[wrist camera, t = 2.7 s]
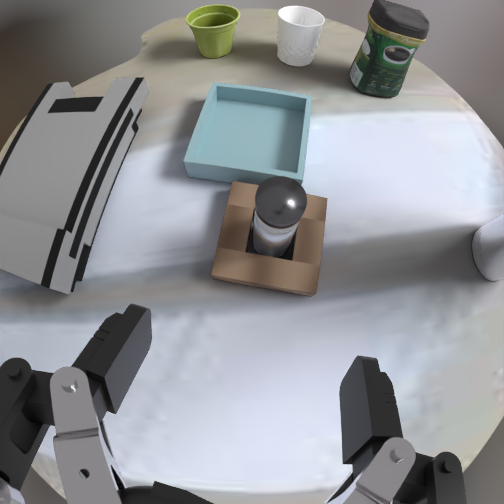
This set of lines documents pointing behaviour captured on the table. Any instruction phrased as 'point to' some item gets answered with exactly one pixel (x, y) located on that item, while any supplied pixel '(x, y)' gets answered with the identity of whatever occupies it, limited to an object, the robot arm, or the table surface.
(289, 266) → the brown square frame
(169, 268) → the table surface
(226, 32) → the plant pot
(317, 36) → the white cup
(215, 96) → the parts tray
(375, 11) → the coffee jar
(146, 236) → the table surface
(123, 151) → the game console
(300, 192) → the bottle with dark cap
